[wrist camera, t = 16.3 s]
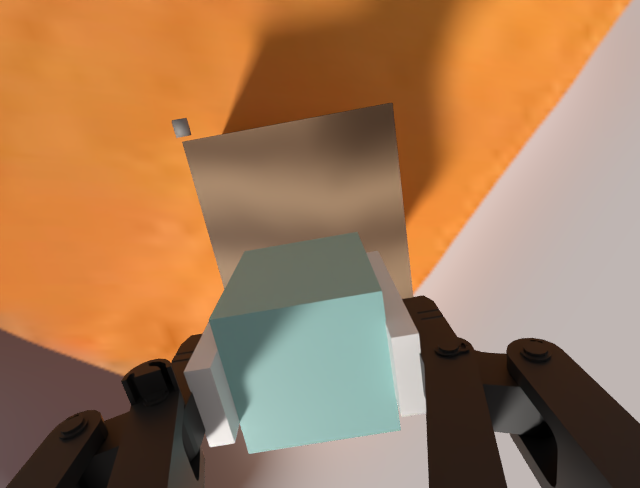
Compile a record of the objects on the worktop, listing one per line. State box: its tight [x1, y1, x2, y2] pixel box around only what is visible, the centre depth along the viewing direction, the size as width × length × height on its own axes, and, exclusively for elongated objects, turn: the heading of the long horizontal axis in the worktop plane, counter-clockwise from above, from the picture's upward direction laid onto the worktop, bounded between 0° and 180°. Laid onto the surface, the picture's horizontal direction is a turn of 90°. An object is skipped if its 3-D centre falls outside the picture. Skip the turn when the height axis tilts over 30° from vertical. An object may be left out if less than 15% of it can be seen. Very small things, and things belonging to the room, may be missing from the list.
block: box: [209, 232, 401, 453], centre depth 14 cm, size 5×5×6 cm
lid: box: [182, 103, 413, 299], centre depth 25 cm, size 14×13×1 cm
